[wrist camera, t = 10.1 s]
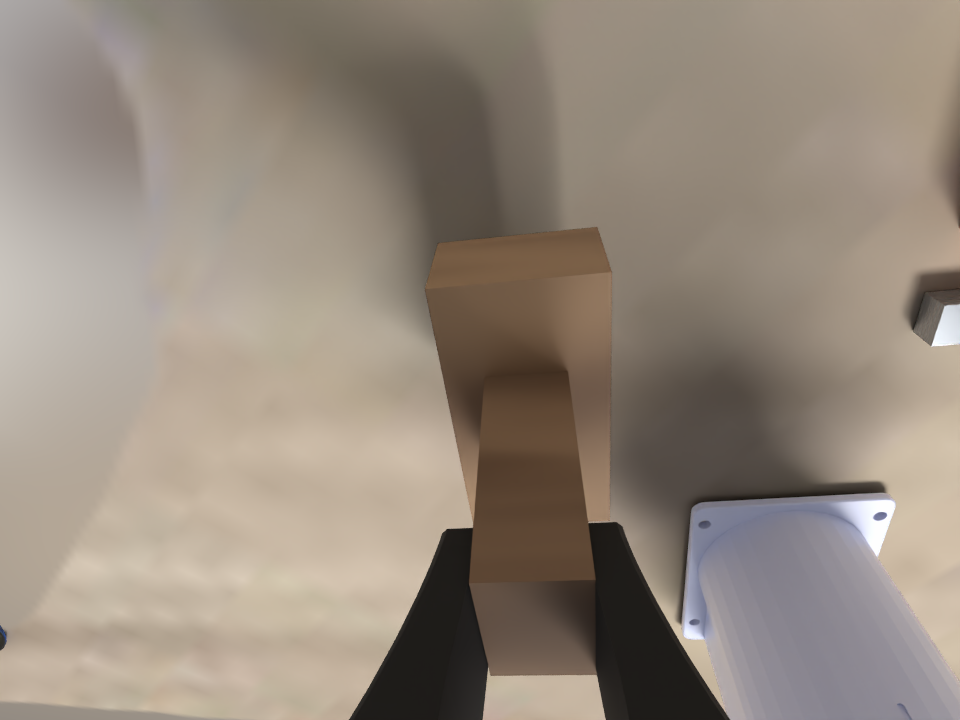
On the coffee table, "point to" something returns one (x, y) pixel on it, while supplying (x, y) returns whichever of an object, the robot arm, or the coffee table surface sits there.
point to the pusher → (530, 434)
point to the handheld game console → (2, 638)
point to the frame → (939, 318)
